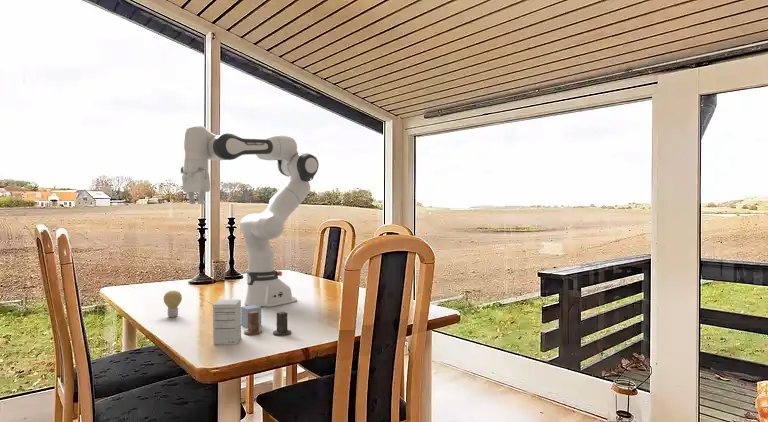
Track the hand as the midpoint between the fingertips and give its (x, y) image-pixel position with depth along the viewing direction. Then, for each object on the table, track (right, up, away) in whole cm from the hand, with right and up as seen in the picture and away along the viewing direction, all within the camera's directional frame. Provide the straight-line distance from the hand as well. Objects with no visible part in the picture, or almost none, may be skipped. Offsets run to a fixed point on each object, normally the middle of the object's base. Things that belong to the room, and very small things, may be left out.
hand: (196, 204), depth 190 cm
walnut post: (+28, -44, -24) cm, 58 cm away
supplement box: (+23, -44, -34) cm, 60 cm away
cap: (+25, -44, -14) cm, 52 cm away
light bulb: (-9, -44, -1) cm, 44 cm away
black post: (+38, -44, -25) cm, 63 cm away
